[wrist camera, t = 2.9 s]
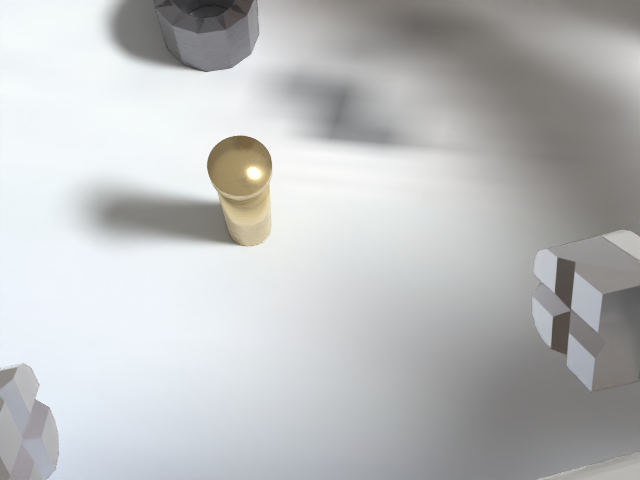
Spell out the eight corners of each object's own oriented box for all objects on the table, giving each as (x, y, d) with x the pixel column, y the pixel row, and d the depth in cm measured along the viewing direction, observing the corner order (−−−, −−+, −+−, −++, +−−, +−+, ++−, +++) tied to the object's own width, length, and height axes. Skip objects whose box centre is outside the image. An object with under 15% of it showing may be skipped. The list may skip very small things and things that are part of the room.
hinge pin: (284, 227, 41) (284, 167, 32) (246, 258, 40) (235, 206, 31) (252, 192, 42) (243, 124, 32) (214, 223, 41) (193, 161, 32)
